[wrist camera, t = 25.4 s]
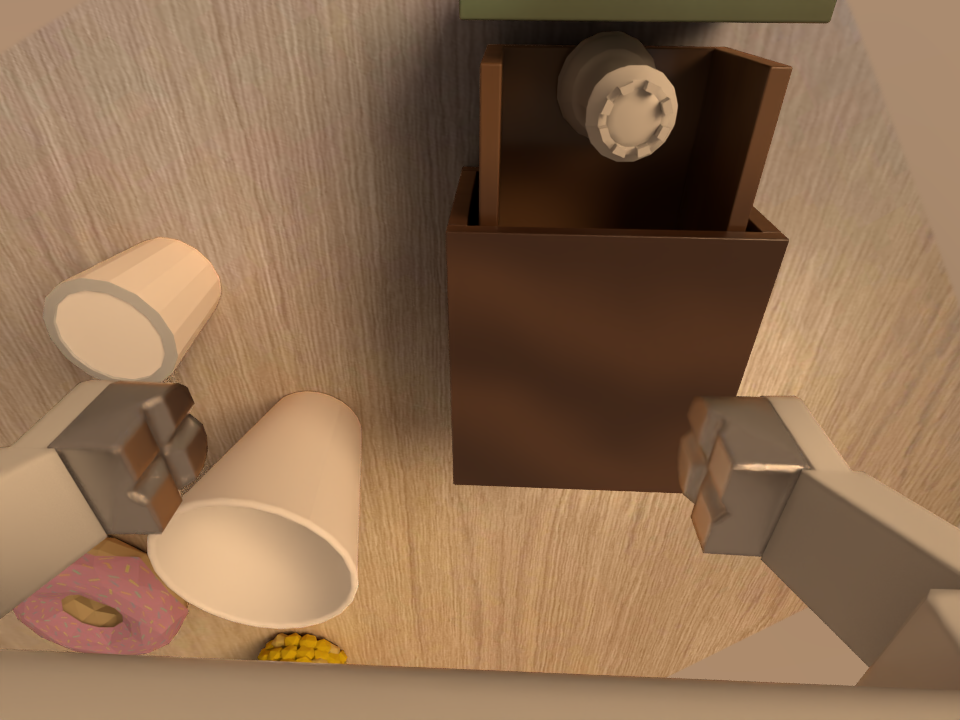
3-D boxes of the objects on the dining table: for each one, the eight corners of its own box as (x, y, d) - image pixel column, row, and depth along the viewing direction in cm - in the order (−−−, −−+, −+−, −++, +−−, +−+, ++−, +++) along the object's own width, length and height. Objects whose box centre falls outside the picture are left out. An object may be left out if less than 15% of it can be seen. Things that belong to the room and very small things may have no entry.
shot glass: (245, 324, 36) (195, 388, 31) (146, 327, 37) (79, 391, 31) (210, 224, 33) (145, 276, 27) (100, 229, 33) (14, 281, 27)
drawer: (471, -167, 22) (455, -230, 15) (790, -168, 21) (910, -233, 15) (472, 259, 32) (463, 329, 26) (687, 265, 32) (732, 336, 25)
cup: (209, 428, 42) (111, 571, 32) (288, 331, 37) (202, 466, 26) (339, 502, 46) (290, 651, 36) (427, 425, 41) (399, 574, 30)
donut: (212, 558, 51) (185, 608, 47) (182, 633, 59) (157, 682, 55) (33, 500, 48) (-12, 549, 44) (27, 589, 56) (-11, 637, 51)
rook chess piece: (562, 144, 27) (578, 196, 21) (549, 43, 25) (563, 65, 18) (655, 125, 27) (702, 172, 20) (651, 18, 24) (703, 32, 18)
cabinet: (462, 166, 30) (445, 231, 22) (715, 170, 30) (790, 239, 22) (465, 381, 38) (453, 485, 30) (662, 387, 38) (703, 494, 30)
